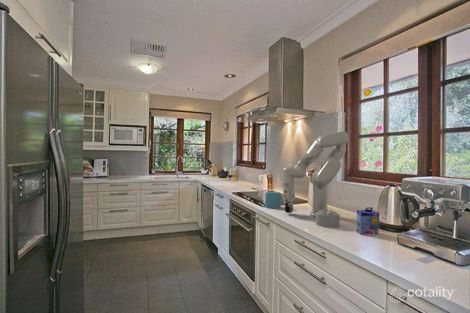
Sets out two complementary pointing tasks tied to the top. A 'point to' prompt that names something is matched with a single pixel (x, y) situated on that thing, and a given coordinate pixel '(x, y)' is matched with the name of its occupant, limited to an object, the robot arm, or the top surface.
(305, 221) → the top surface
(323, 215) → the lumpy-topped squat cylinder
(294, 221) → the top surface
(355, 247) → the top surface
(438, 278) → the top surface
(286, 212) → the connector casing
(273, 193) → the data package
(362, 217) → the ink cartridge box
